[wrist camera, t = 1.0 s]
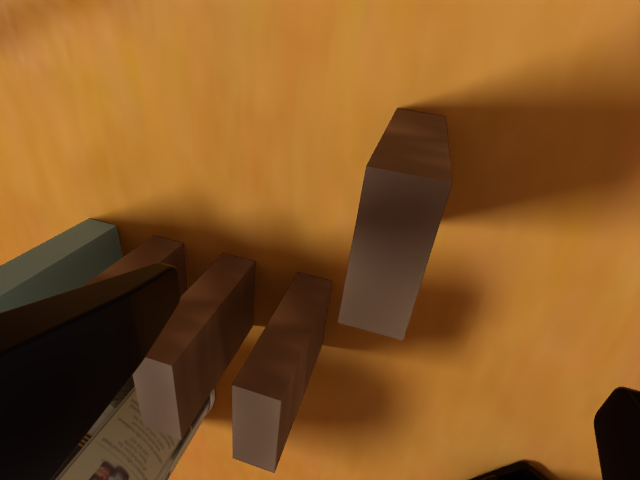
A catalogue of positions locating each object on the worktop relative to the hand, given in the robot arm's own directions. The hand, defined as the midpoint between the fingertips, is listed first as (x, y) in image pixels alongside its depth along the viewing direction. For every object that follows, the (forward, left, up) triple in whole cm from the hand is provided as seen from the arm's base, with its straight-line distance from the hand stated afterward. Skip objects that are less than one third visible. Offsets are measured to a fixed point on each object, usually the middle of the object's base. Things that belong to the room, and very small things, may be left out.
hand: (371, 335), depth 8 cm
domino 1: (+10, +17, -11) cm, 22 cm away
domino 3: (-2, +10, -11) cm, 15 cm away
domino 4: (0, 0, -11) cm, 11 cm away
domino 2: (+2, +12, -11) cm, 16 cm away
